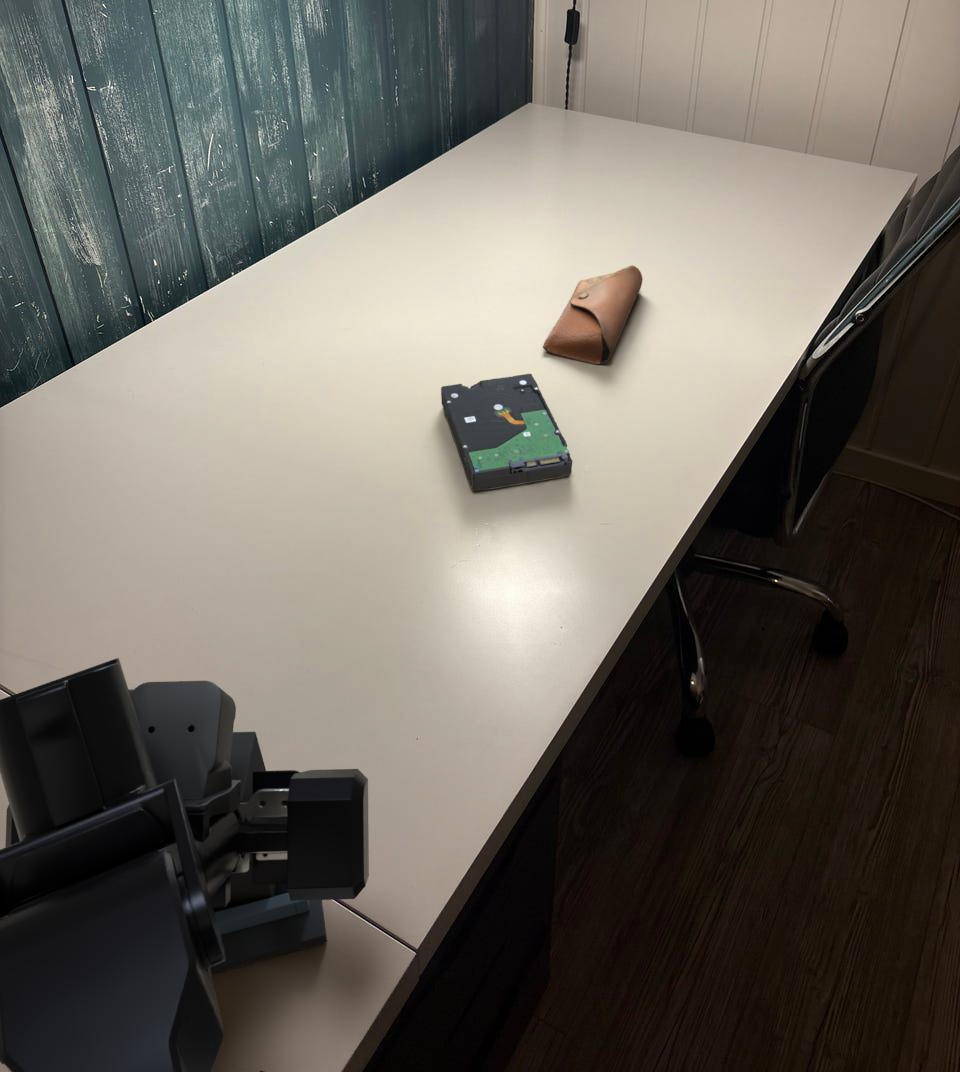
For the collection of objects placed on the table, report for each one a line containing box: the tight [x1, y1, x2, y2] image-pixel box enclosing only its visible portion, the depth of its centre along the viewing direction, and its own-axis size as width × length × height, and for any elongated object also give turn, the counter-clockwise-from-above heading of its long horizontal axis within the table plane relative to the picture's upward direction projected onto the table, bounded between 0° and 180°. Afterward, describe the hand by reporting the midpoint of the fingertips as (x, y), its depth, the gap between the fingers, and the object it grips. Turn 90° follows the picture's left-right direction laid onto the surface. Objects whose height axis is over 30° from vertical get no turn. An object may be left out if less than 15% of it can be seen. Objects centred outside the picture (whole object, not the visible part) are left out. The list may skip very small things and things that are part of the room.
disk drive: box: [440, 373, 573, 492], centre depth 97 cm, size 10×3×15 cm
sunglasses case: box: [542, 265, 644, 366], centre depth 115 cm, size 18×7×7 cm
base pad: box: [210, 884, 328, 975], centre depth 62 cm, size 11×9×2 cm
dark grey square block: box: [228, 731, 277, 904], centre depth 58 cm, size 4×4×12 cm
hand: (231, 795), depth 59 cm, fingers closed on dark grey square block, 4 cm apart
